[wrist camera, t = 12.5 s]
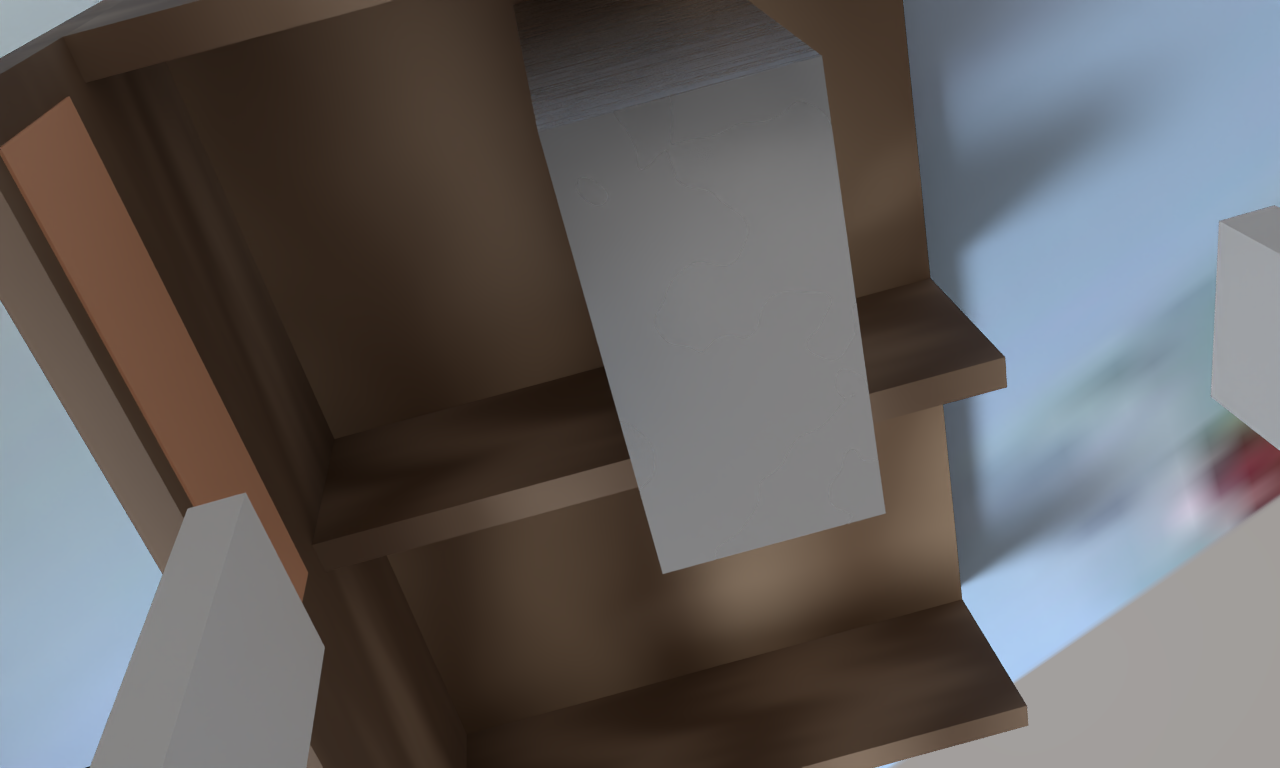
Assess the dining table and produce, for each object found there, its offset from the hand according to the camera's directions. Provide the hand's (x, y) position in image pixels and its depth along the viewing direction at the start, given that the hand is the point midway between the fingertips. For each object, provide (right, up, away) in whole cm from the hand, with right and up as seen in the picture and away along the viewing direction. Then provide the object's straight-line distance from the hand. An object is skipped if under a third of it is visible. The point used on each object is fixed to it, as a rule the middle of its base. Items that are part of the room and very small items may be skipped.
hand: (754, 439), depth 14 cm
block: (-2, +6, +11) cm, 13 cm away
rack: (-2, +2, +15) cm, 15 cm away
